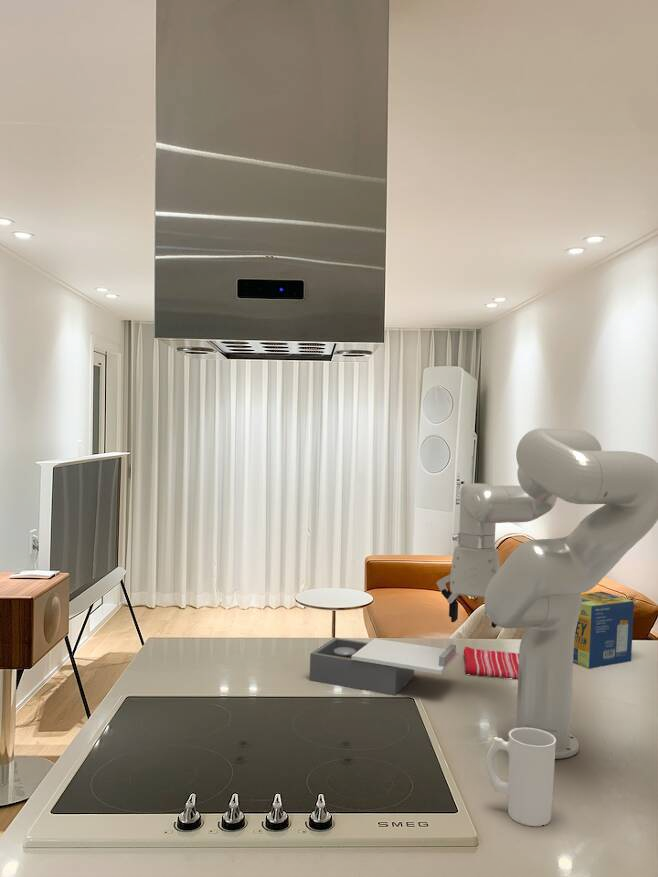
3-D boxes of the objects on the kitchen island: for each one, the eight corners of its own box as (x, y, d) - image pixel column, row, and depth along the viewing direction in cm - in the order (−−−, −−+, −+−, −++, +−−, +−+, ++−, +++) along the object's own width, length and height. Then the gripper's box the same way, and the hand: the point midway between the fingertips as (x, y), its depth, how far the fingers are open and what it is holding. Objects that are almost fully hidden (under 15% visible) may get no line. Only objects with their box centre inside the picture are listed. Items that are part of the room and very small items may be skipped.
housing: (394, 695, 162) (395, 667, 162) (309, 680, 170) (310, 653, 169) (413, 675, 175) (414, 649, 174) (333, 662, 182) (334, 637, 182)
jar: (330, 673, 173) (330, 652, 172) (338, 667, 177) (338, 646, 177) (350, 677, 171) (351, 655, 170) (358, 670, 175) (358, 648, 175)
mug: (555, 810, 116) (558, 732, 115) (550, 832, 109) (553, 749, 109) (488, 796, 119) (491, 720, 119) (480, 816, 113) (483, 736, 113)
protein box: (556, 656, 192) (558, 596, 192) (599, 649, 200) (602, 591, 199) (588, 669, 183) (590, 605, 183) (632, 661, 190) (635, 600, 190)
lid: (441, 674, 157) (441, 660, 157) (351, 659, 165) (351, 646, 165) (458, 654, 171) (458, 642, 171) (374, 641, 179) (374, 630, 179)
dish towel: (463, 655, 193) (463, 644, 193) (559, 663, 189) (560, 652, 189) (462, 677, 176) (463, 666, 176) (568, 687, 172) (569, 675, 172)
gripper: (432, 540, 161) (429, 622, 162) (515, 547, 155) (512, 633, 155) (441, 536, 168) (438, 614, 169) (521, 542, 162) (518, 624, 162)
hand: (474, 623), depth 162 cm, fingers open, 8 cm apart
